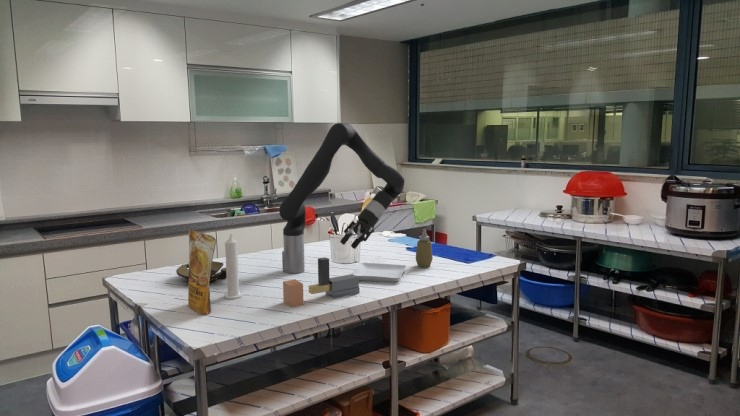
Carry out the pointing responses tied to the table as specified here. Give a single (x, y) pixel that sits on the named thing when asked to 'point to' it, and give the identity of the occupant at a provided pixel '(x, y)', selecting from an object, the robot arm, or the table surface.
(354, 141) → the robot arm
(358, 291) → the sleeve
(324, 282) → the bolt
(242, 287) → the table surface
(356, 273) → the salad plate
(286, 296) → the orange brown block
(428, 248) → the squeeze bottle
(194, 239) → the pancake mix bag
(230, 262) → the candle
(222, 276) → the oil lamp
